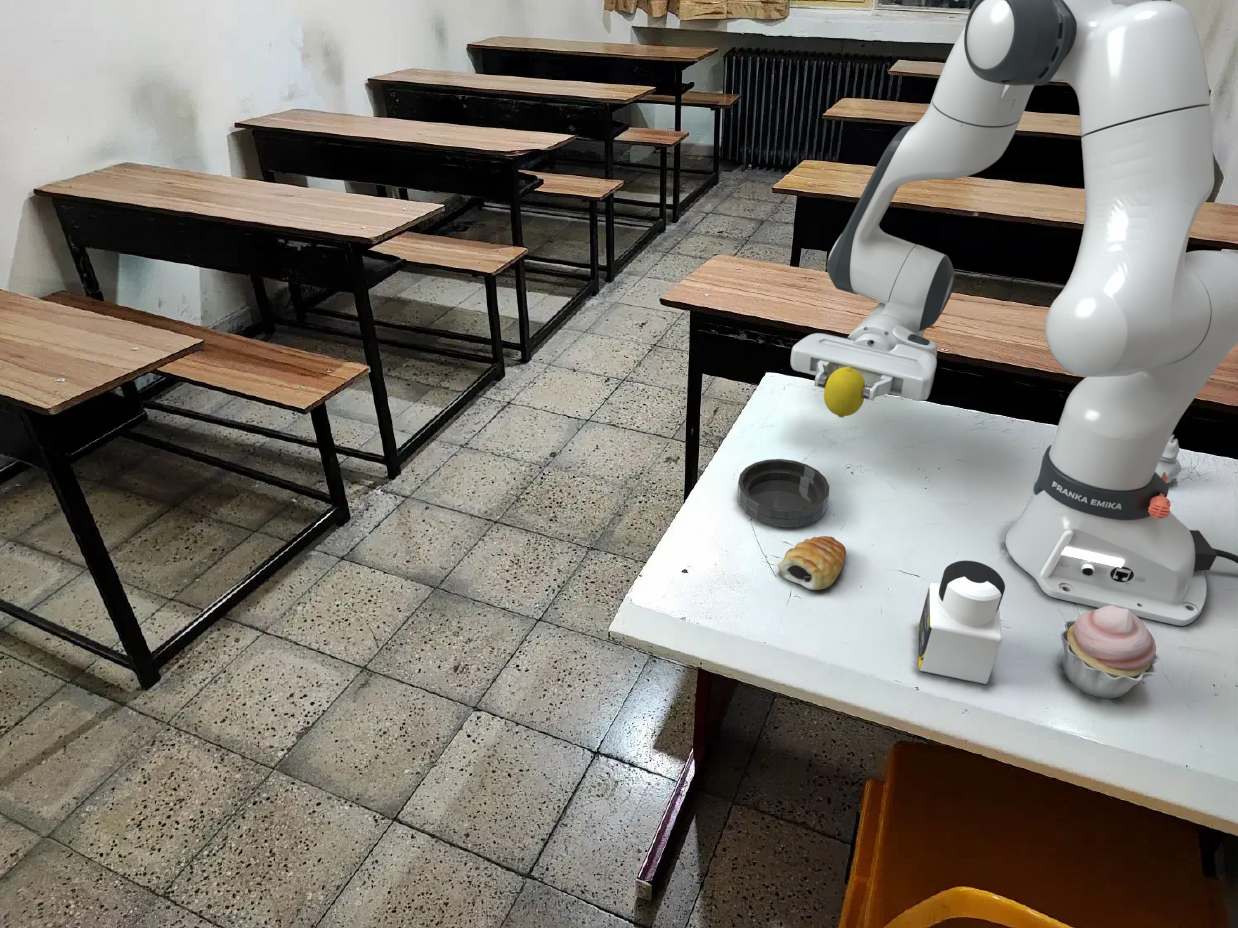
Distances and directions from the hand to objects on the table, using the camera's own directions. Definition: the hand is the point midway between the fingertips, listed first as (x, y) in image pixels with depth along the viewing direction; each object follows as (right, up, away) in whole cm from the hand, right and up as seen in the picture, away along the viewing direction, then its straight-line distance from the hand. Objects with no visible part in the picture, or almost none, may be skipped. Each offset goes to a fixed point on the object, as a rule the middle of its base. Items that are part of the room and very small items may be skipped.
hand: (843, 388), depth 113 cm
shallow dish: (-8, -16, +3) cm, 18 cm away
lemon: (+1, -4, +4) cm, 5 cm away
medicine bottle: (+6, -32, -21) cm, 39 cm away
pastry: (-6, -24, -9) cm, 26 cm away
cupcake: (+21, -34, -24) cm, 46 cm away
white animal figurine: (+47, -12, +7) cm, 49 cm away
